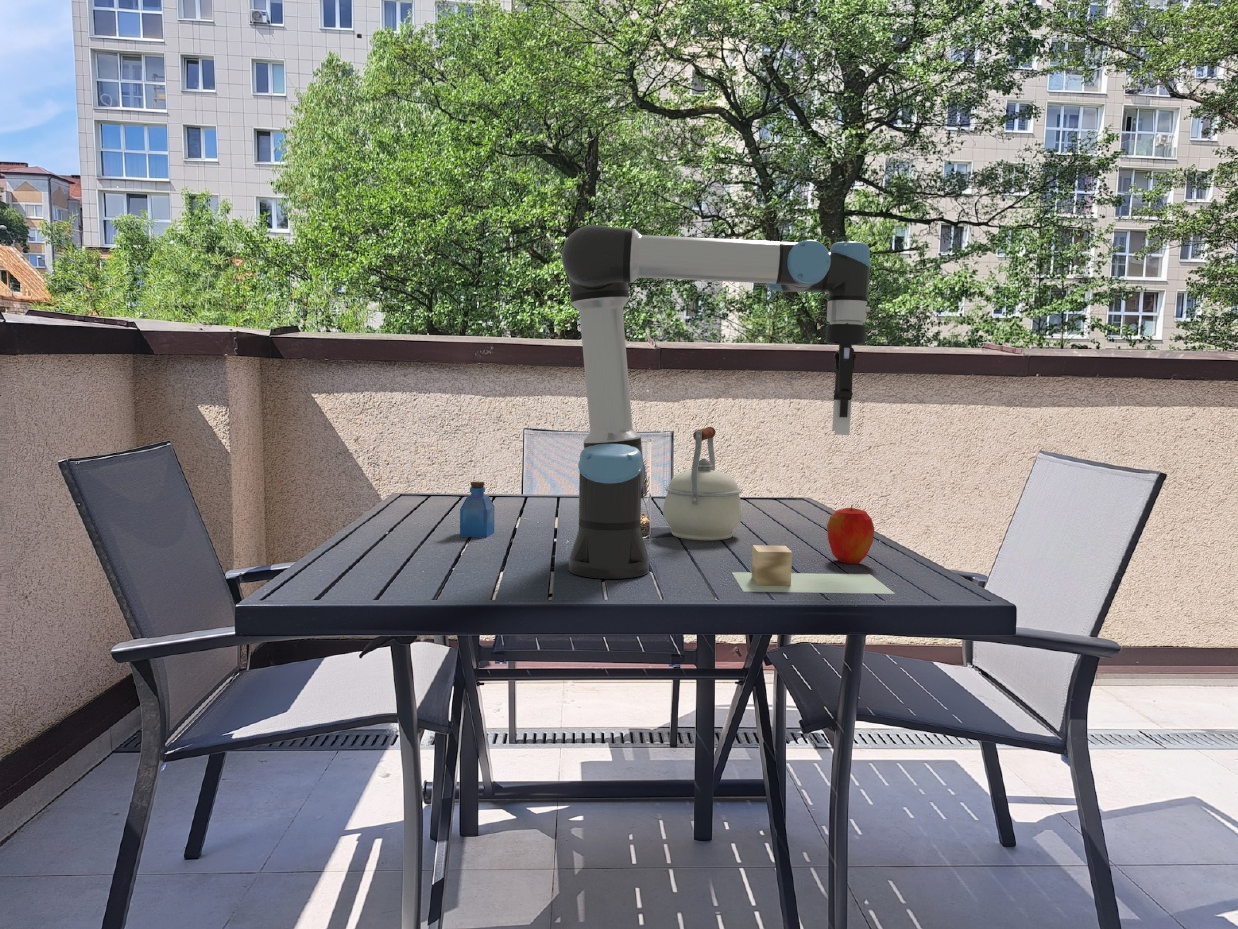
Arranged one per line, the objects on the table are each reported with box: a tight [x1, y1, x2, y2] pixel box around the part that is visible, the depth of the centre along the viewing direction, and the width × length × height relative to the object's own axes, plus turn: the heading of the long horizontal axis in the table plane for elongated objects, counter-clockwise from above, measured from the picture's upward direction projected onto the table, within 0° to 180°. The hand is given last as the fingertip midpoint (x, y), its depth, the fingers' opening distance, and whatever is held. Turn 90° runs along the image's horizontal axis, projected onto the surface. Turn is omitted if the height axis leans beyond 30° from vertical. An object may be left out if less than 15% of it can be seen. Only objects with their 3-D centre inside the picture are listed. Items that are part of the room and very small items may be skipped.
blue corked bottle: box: [459, 481, 495, 539], centre depth 206 cm, size 6×6×12 cm
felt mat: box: [731, 571, 896, 595], centre depth 163 cm, size 26×15×1 cm, turn 91°
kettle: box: [662, 426, 744, 542], centre depth 211 cm, size 25×18×25 cm
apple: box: [826, 503, 875, 565], centre depth 181 cm, size 9×9×12 cm
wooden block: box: [751, 544, 793, 586], centre depth 162 cm, size 6×6×6 cm
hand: (840, 432), depth 179 cm, fingers open, 13 cm apart
